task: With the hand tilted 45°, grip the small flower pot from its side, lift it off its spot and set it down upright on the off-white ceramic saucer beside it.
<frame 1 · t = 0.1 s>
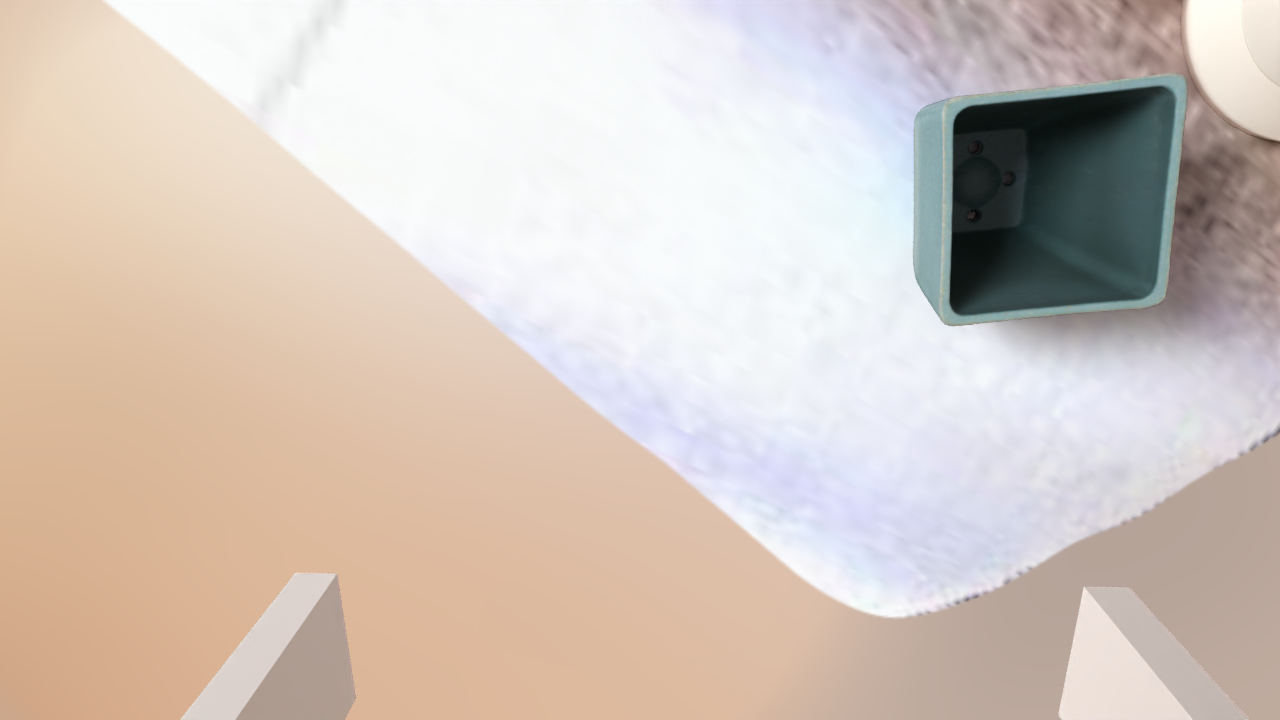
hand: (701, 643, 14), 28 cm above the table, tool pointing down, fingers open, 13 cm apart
flower pot: (971, 182, 39), on the table
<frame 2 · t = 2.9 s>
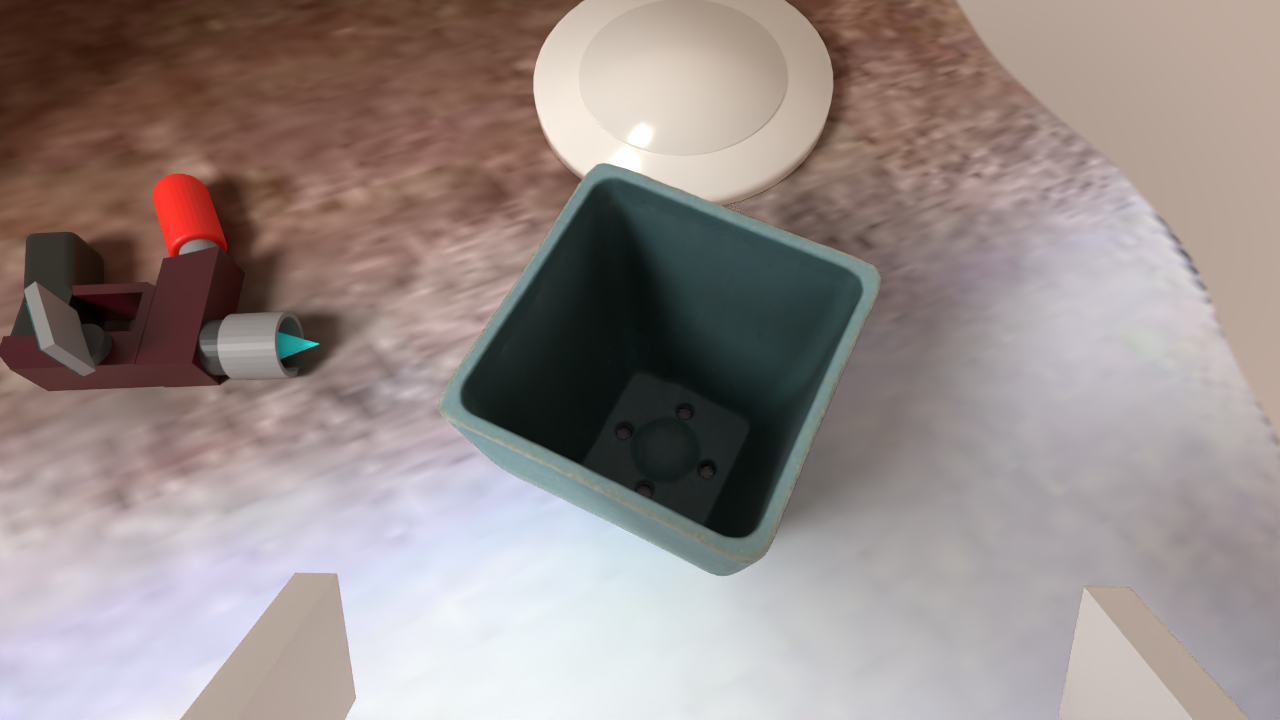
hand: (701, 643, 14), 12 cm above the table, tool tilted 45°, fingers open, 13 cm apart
toy gun: (199, 297, 33), on the table
saucer: (681, 91, 36), on the table
flower pot: (668, 455, 29), on the table
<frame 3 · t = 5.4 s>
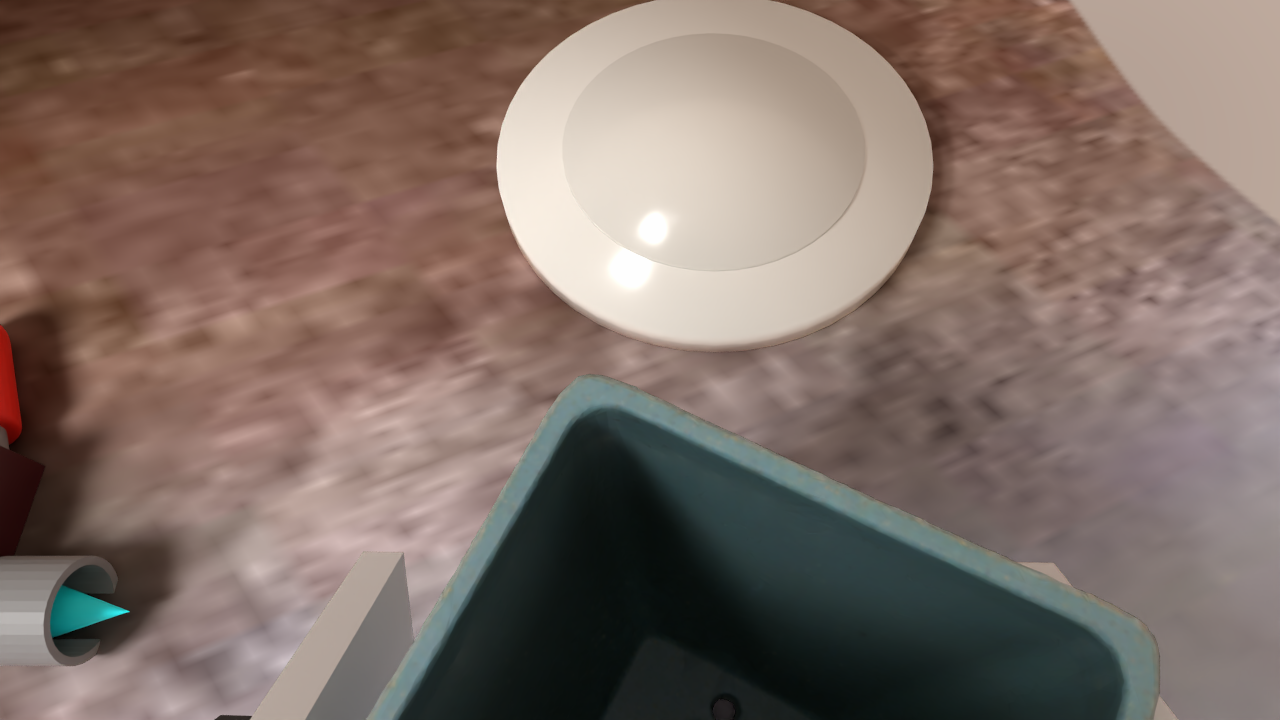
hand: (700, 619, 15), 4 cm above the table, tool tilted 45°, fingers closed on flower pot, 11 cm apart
saucer: (710, 166, 25), on the table
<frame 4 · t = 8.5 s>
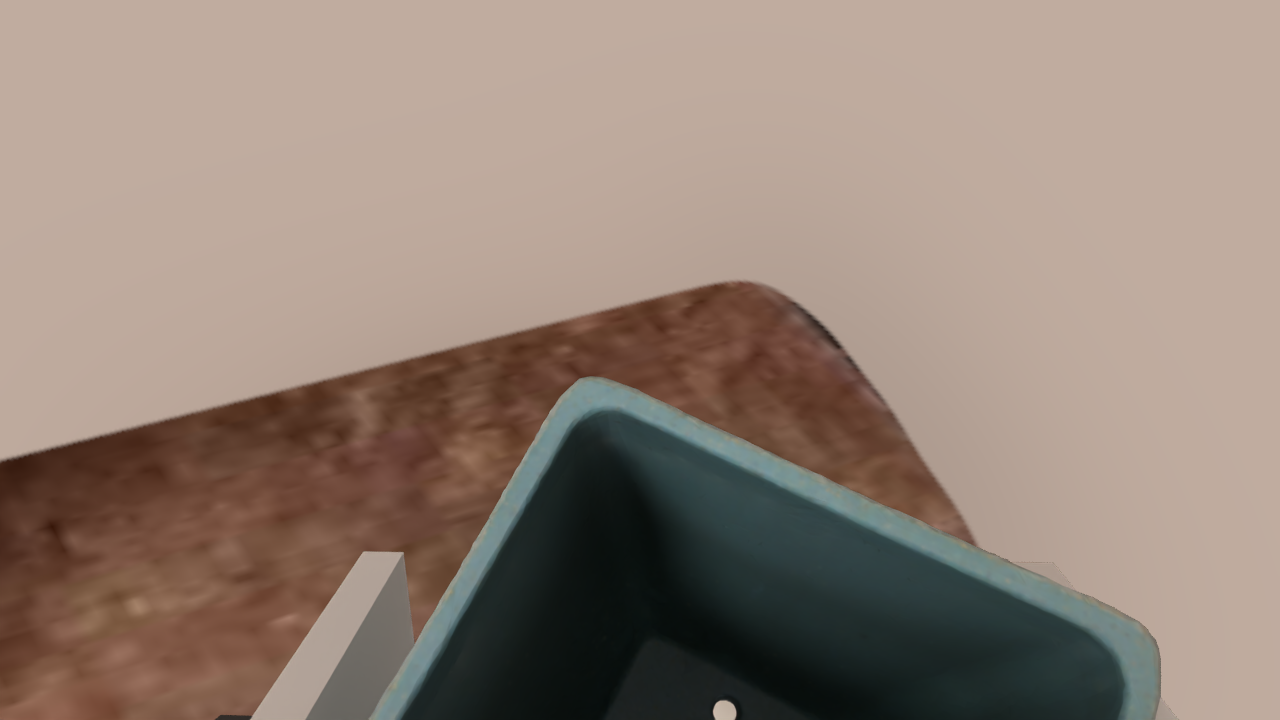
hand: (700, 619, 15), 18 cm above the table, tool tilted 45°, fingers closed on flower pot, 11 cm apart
when the fingers open (7 cm above the table, at t = 11.4 s): flower pot drops 1 cm, resting on saucer.
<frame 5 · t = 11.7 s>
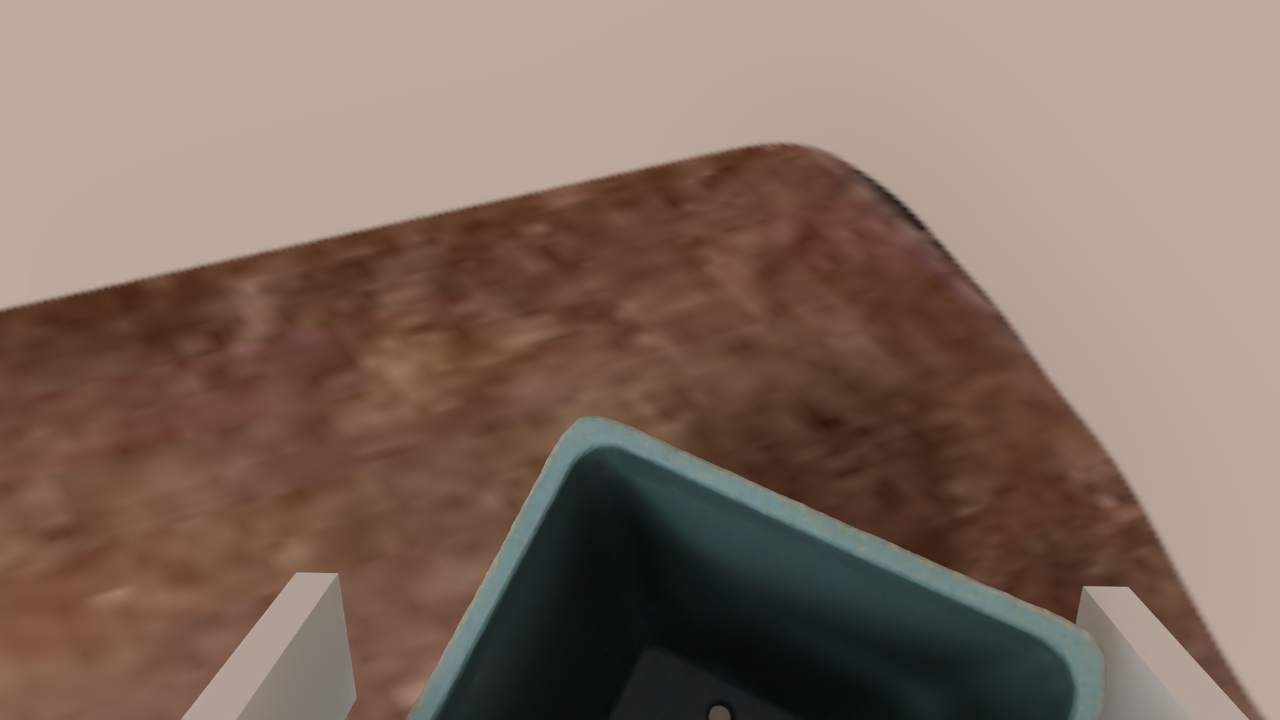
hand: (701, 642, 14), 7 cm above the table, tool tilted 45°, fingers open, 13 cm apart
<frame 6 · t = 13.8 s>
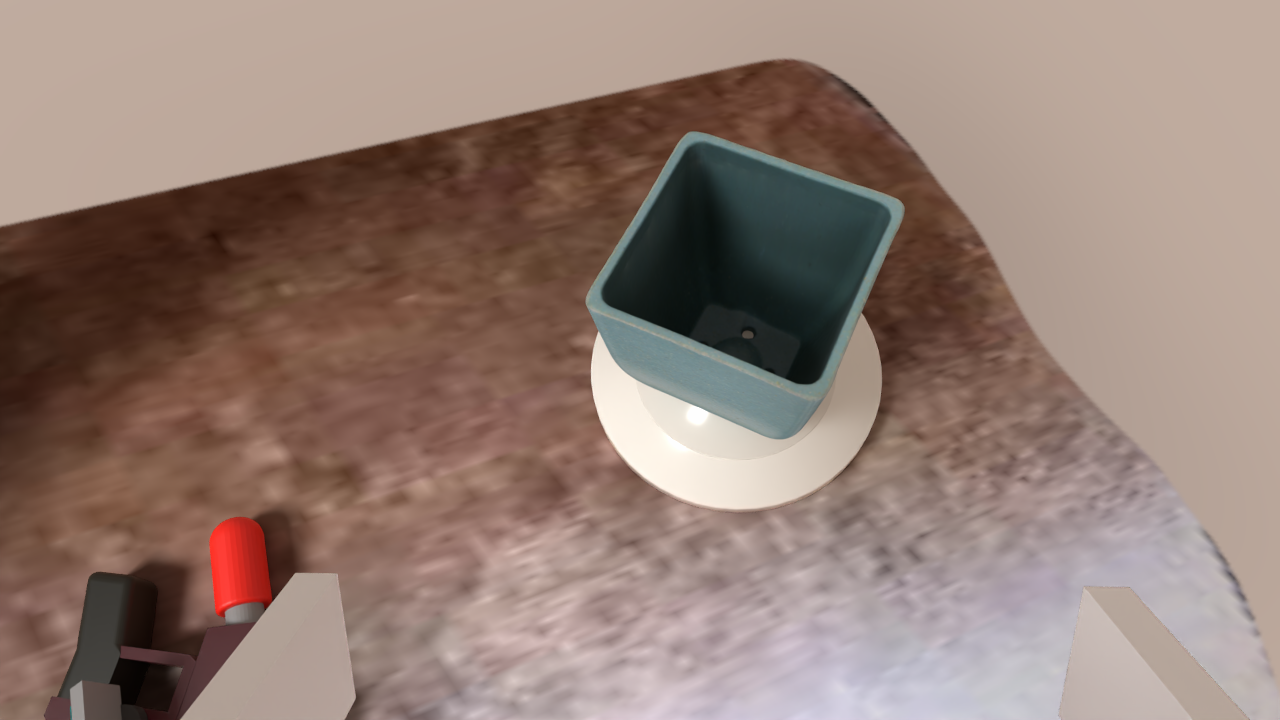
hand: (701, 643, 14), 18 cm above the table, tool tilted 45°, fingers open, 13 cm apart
toy gun: (240, 642, 33), on the table
saucer: (733, 375, 37), on the table
flower pot: (736, 367, 36), point 1 cm above the table, touching saucer
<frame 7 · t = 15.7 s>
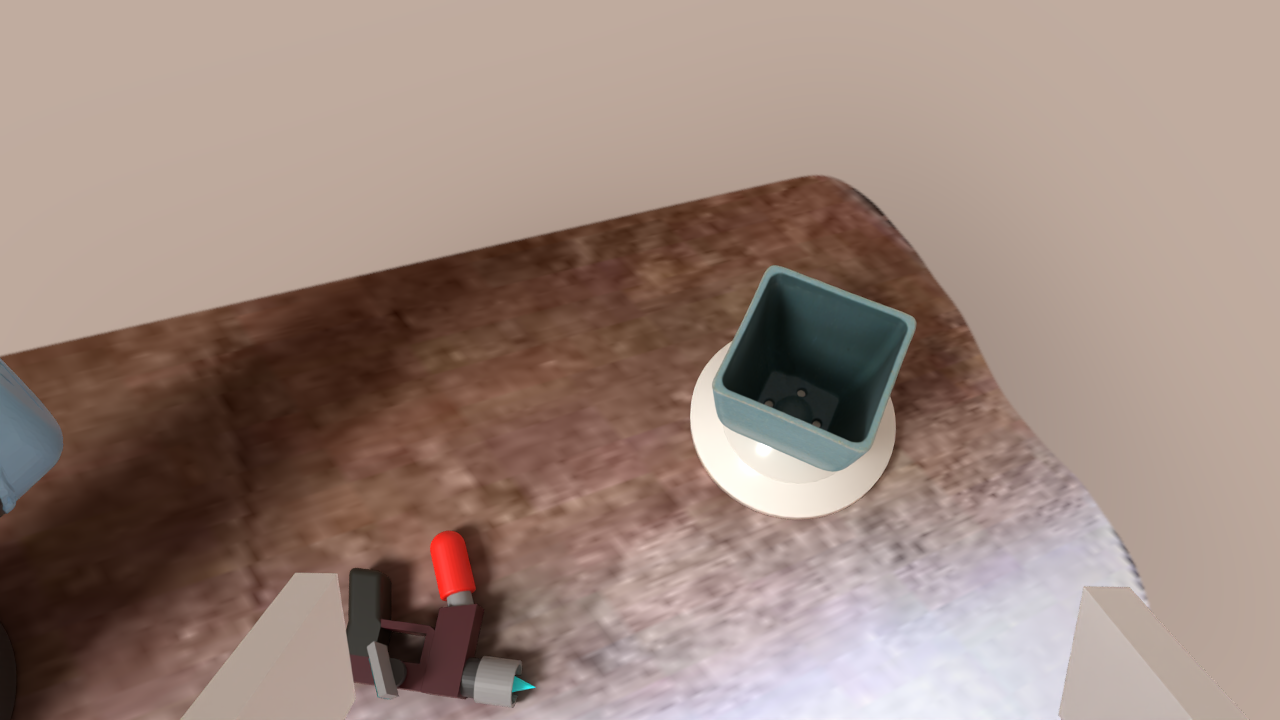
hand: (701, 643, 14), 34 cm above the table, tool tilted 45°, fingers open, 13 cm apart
toy gun: (451, 618, 48), on the table
saucer: (790, 421, 52), on the table
flower pot: (793, 416, 51), point 1 cm above the table, touching saucer
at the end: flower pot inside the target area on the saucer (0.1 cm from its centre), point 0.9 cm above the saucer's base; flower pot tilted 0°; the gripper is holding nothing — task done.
